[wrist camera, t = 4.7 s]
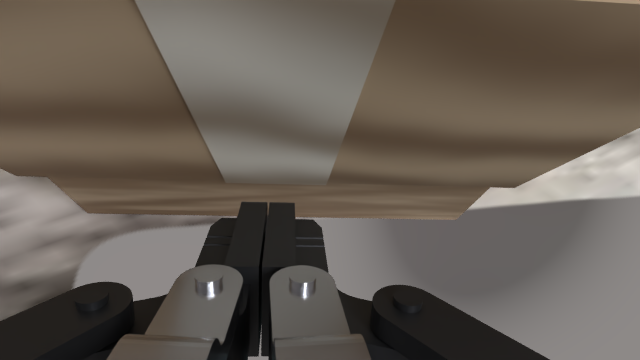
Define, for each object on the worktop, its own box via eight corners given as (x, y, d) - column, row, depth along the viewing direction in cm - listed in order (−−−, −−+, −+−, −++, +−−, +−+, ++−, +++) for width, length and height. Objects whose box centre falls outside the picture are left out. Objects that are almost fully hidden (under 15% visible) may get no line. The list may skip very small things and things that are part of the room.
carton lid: (512, 173, 23) (514, 189, 23) (20, 159, 21) (16, 178, 21) (856, -16, 9) (870, 21, 9) (-480, -103, 7) (-505, -58, 7)
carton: (456, 219, 30) (503, 174, 23) (87, 213, 28) (30, 162, 21) (431, 57, 35) (463, -15, 29) (126, 42, 34) (91, -37, 27)
